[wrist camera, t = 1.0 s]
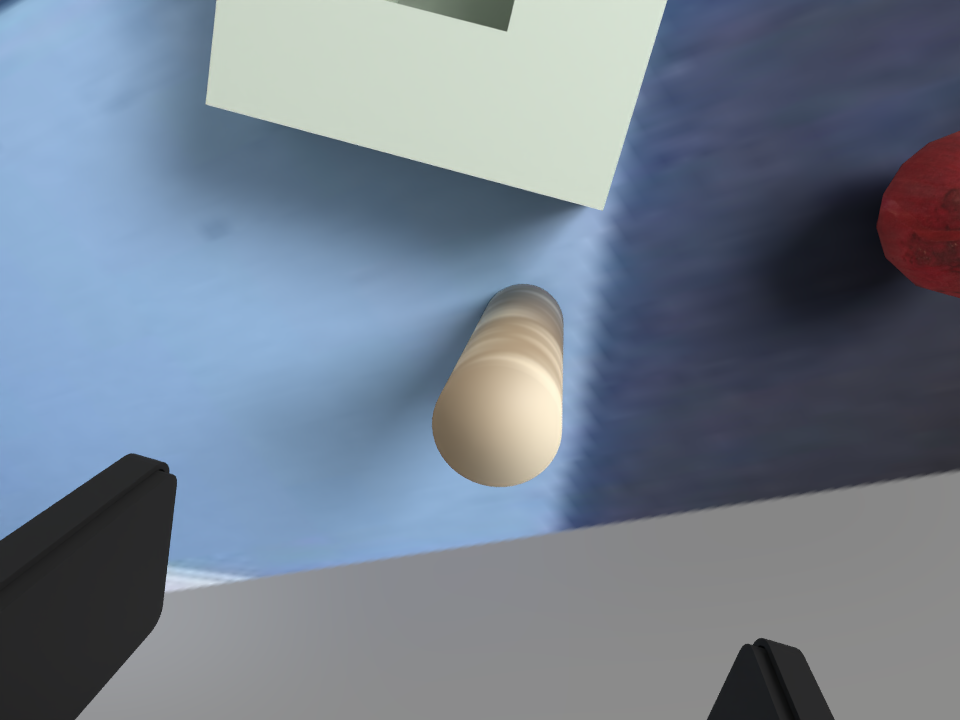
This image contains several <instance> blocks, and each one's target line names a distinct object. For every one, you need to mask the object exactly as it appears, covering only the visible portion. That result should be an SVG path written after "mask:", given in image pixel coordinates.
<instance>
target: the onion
mask: <svg viewBox="0 0 960 720" xmlns="http://www.w3.org/2000/svg"><path fill="white" fill-rule="evenodd" d="M876 228H877V231H878V234H879V238H880V241H881V245H882V248H883V251H884V255H885V258H887V259H888V260H889V261H890V262H891V263H892V264H893V265H894V266H895V267H896V268H897V269H898V270H899V271H901V272H902V273H903V274H904V275H905V276H906V277H907V278H908V279H909V280H910V281H911V282H913V283H914V284H915V285H916V286H919V287H922V288H926V289H929V290H933V291H937V292H940V293H944V294H947V295H951V296H955V297H958V298H960V131H958V132H956V133H953V134H951V135H948V136H945V137H943V138H940V139H938V140H935V141H933V142H930V143H928V144H927V145H925V146H924V147H923V148H922V149H921V150H919V151H918V152H917V153H916V154H914V155H913V156H912V157H911V158H910V159H908V160H907V161H906V162H905V163H903V164H902V166H901V167H900V169H899V170H898V172H897V173H896V175H895V177H894V178H893V180H892V181H891V183H890V184H889V186H888V188H887V189H886V191H885V192H884V194H883V198H882V203H881V208H880V212H879V217H878V222H877V226H876Z"/></svg>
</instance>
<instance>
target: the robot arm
mask: <svg viewBox="0 0 960 720" xmlns="http://www.w3.org/2000/svg"><path fill="white" fill-rule="evenodd" d="M176 487H177V479H176V476H175V475H173V474H169V467H168V465H167V464H166V463H165V462H161V461H158V460H154V459H151V458H147V457H144V456H141V455H137V454H128V455H126V456H124V457H123V458H121V459H120V460H118V461H117V462H115V463H114V464H112V465H111V466H109V467H108V468H106V469H105V470H103V471H102V472H101V473H99V474H98V475H96V476H95V477H93V478H92V479H90V480H89V481H87V482H86V483H84V484H83V485H81V486H80V487H78V488H77V489H76V490H74V491H73V492H71V493H70V494H68V495H67V496H65V497H64V498H62V499H61V500H59V501H58V502H56V503H55V504H53V505H52V506H51V507H49V508H48V509H46V510H45V511H43V512H42V513H40V514H39V515H37V516H36V517H34V518H33V519H31V520H30V521H29V522H27V523H26V524H24V525H23V526H21V527H20V528H18V529H17V530H15V531H14V532H12V533H11V534H9V535H8V536H6V537H5V538H4V539H2V540H1V541H0V720H75V719H76V718H77V717H78V716H79V714H80V713H81V712H82V711H83V710H84V708H85V707H86V706H87V705H88V704H89V703H90V702H91V701H92V699H93V698H94V697H95V696H96V695H97V694H98V693H99V691H100V690H101V689H102V688H103V687H104V686H105V684H106V683H107V682H108V681H109V680H110V678H112V676H113V675H114V674H115V673H116V672H117V671H118V669H119V668H120V667H121V666H122V665H123V664H124V663H125V661H126V660H127V659H128V658H129V657H130V656H131V655H132V653H133V652H134V651H135V650H136V649H137V648H138V647H139V645H140V644H141V643H142V642H143V641H144V640H145V638H146V637H147V636H148V635H149V634H150V633H151V631H152V630H153V629H154V627H155V625H156V624H157V622H158V620H159V617H160V615H161V612H162V607H163V600H164V599H163V598H164V591H165V582H166V574H167V565H168V556H169V548H170V539H171V530H172V522H173V513H174V504H175V496H176ZM707 720H834V717H833V715H832V714H831V711H830V709H829V707H828V705H827V703H826V701H825V699H824V697H823V695H822V693H821V690H820V688H819V686H818V684H817V682H816V680H815V678H814V676H813V674H812V672H811V670H810V668H809V666H808V663H807V661H806V659H805V657H804V655H803V654H802V652H801V651H800V650H799V649H797V648H795V647H791V646H788V645H784V644H781V643H777V642H774V641H771V640H767V639H764V638H759V639H758V640H756V641H755V642H754V644H753V645H750V644H745V645H744V646H742V648H741V650H740V651H739V653H738V655H737V658H736V660H735V662H734V664H733V666H732V668H731V670H730V672H729V674H728V676H727V679H726V681H725V683H724V685H723V687H722V689H721V691H720V693H719V695H718V698H717V700H716V702H715V704H714V706H713V708H712V710H711V712H710V715H709V717H708V719H707Z"/></svg>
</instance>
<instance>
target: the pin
mask: <svg viewBox="0 0 960 720" xmlns="http://www.w3.org/2000/svg"><path fill="white" fill-rule="evenodd" d="M562 388H563V315H562V312H561V309H560V307H559V305H558V303H557V302H556V300H555V299H554V298H553V297H552V296H551V295H550V294H549V293H548V292H546V291H545V290H543V289H541V288H539V287H537V286H534V285H529V284H517V285H512V286H509V287H507V288H505V289H503V290H501V291H500V292H498V293H497V294H496V295H495V296H494V297H493V298H492V299H491V300H490V302H489V303H488V305H487V307H486V309H485V311H484V313H483V315H482V317H481V319H480V320H479V322H478V324H477V326H476V328H475V330H474V332H473V334H472V336H471V337H470V339H469V341H468V343H467V345H466V347H465V349H464V351H463V353H462V355H461V356H460V358H459V360H458V362H457V364H456V366H455V368H454V370H453V372H452V373H451V375H450V377H449V379H448V381H447V383H446V385H445V387H444V389H443V390H442V392H441V394H440V396H439V398H438V400H437V402H436V405H435V408H434V412H433V417H432V429H433V436H434V440H435V443H436V446H437V448H438V450H439V452H440V454H441V456H442V457H443V458H444V460H445V461H446V462H447V463H448V464H449V466H450V467H451V468H452V469H454V470H455V471H456V472H457V473H458V474H460V475H462V476H463V477H465V478H467V479H469V480H471V481H473V482H476V483H478V484H482V485H486V486H493V487H507V486H514V485H518V484H521V483H524V482H526V481H529V480H531V479H532V478H534V477H536V476H537V475H539V474H540V473H541V472H542V471H543V470H545V469H546V468H547V467H548V465H549V464H550V463H551V461H552V460H553V458H554V457H555V455H556V453H557V451H558V448H559V445H560V441H561V435H562Z"/></svg>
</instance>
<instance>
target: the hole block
mask: <svg viewBox="0 0 960 720" xmlns="http://www.w3.org/2000/svg"><path fill="white" fill-rule="evenodd" d="M666 2H667V0H217V1H216V11H215V20H214V30H213V39H212V49H211V58H210V67H209V77H208V86H207V96H206V105H209V106H213V107H217V108H221V109H224V110H228V111H232V112H236V113H239V114H243V115H247V116H251V117H254V118H258V119H262V120H266V121H269V122H273V123H277V124H281V125H284V126H288V127H292V128H295V129H299V130H303V131H307V132H310V133H314V134H318V135H322V136H325V137H329V138H333V139H337V140H340V141H344V142H348V143H352V144H355V145H359V146H363V147H367V148H370V149H374V150H378V151H382V152H385V153H389V154H393V155H397V156H400V157H404V158H408V159H411V160H415V161H419V162H423V163H426V164H430V165H434V166H438V167H441V168H445V169H449V170H453V171H456V172H460V173H464V174H468V175H471V176H475V177H479V178H483V179H486V180H490V181H494V182H498V183H501V184H505V185H509V186H512V187H516V188H520V189H524V190H527V191H531V192H535V193H539V194H542V195H546V196H550V197H554V198H557V199H561V200H565V201H569V202H572V203H576V204H580V205H584V206H587V207H591V208H595V209H599V210H602V211H603V209H604V205H605V202H606V199H607V196H608V192H609V189H610V186H611V182H612V179H613V176H614V173H615V169H616V166H617V163H618V159H619V156H620V153H621V150H622V146H623V143H624V140H625V137H626V133H627V130H628V127H629V123H630V120H631V117H632V114H633V110H634V107H635V104H636V100H637V97H638V94H639V91H640V87H641V84H642V81H643V78H644V74H645V71H646V68H647V64H648V61H649V58H650V55H651V51H652V48H653V45H654V41H655V38H656V35H657V32H658V28H659V25H660V22H661V18H662V15H663V12H664V9H665V5H666Z"/></svg>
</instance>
